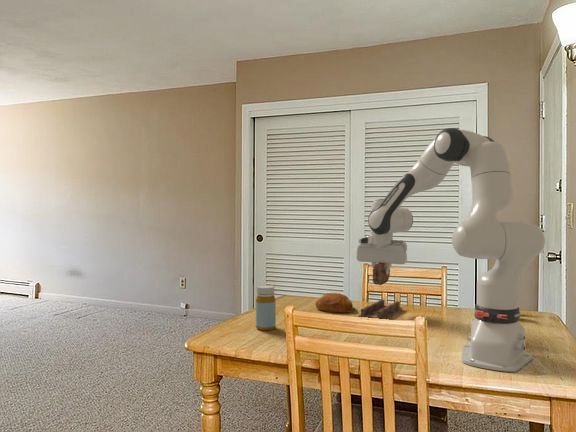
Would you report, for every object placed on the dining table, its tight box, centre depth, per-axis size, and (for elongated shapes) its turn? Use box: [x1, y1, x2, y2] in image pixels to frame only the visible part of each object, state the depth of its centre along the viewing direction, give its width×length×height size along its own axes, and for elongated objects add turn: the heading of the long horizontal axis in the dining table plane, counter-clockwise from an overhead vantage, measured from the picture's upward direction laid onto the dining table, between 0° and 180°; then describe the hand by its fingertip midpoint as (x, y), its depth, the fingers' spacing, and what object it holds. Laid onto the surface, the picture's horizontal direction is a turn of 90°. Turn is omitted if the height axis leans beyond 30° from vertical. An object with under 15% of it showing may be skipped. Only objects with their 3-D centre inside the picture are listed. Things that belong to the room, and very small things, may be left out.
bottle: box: [255, 284, 277, 332], centre depth 166 cm, size 7×7×15 cm
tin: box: [372, 263, 391, 286], centre depth 187 cm, size 15×3×8 cm, turn 150°
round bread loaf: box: [315, 292, 353, 313], centre depth 195 cm, size 14×16×8 cm
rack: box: [357, 299, 403, 320], centre depth 187 cm, size 22×10×4 cm, turn 148°
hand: (381, 274), depth 187 cm, fingers closed on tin, 3 cm apart
